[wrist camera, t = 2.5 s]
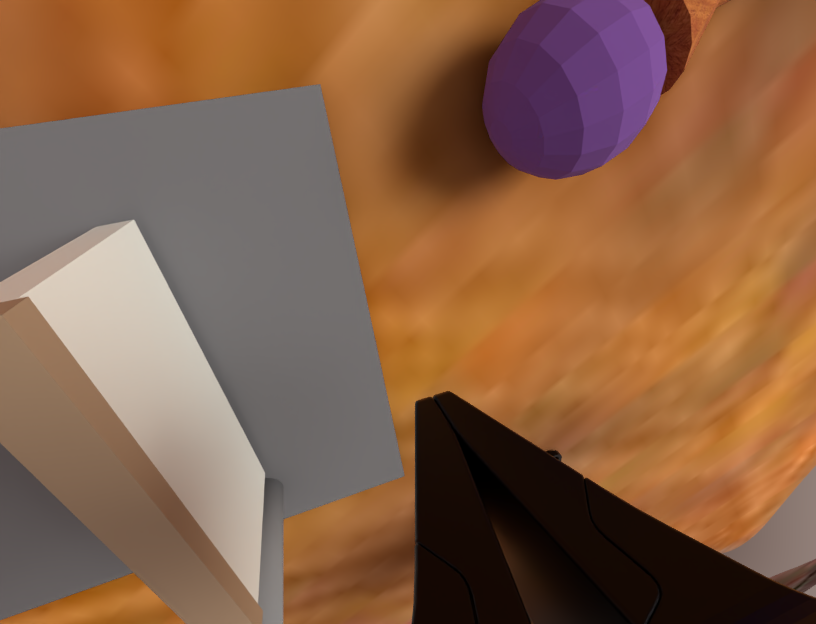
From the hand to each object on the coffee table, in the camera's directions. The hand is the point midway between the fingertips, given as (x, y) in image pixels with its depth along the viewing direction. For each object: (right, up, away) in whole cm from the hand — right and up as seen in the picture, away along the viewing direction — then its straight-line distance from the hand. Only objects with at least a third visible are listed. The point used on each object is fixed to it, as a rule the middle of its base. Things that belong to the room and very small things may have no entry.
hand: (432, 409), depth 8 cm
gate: (-10, -1, +8) cm, 12 cm away
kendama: (+10, +16, +8) cm, 20 cm away
